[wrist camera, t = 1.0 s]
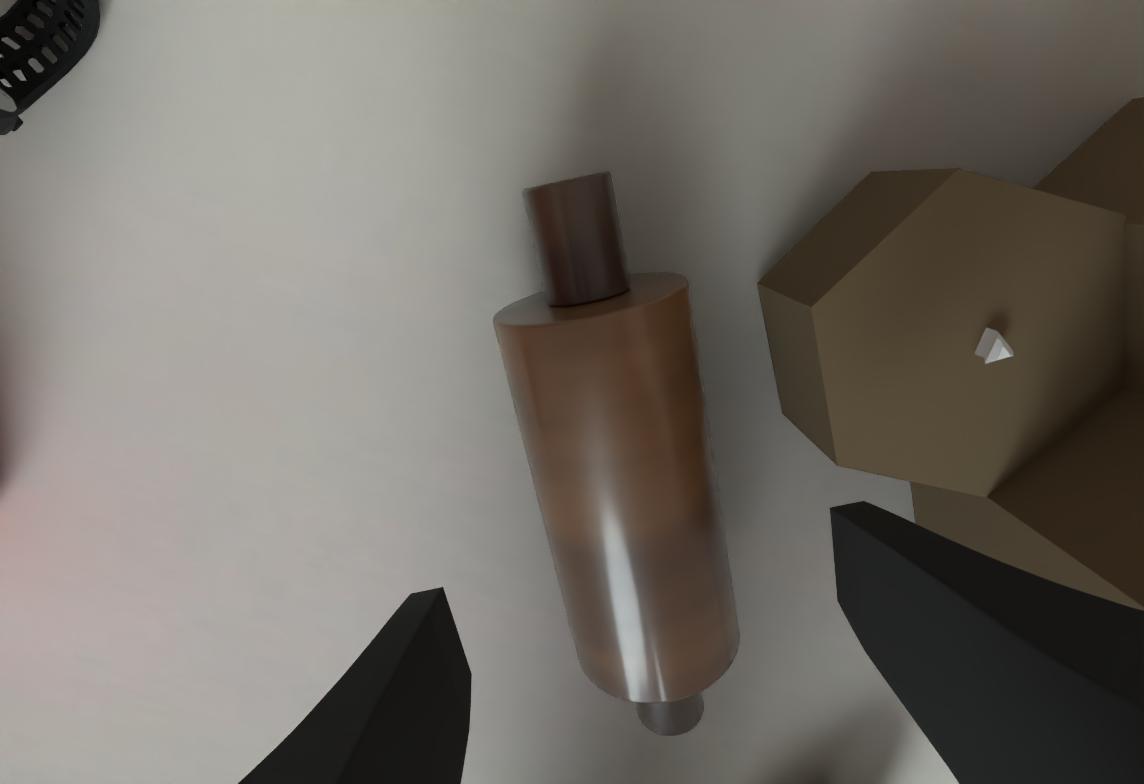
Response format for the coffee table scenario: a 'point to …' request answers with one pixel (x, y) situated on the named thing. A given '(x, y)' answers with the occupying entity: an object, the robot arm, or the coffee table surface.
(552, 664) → the coffee table surface
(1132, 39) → the coffee table surface
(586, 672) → the rolling pin
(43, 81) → the smartwatch
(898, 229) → the candle
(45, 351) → the coffee table surface
